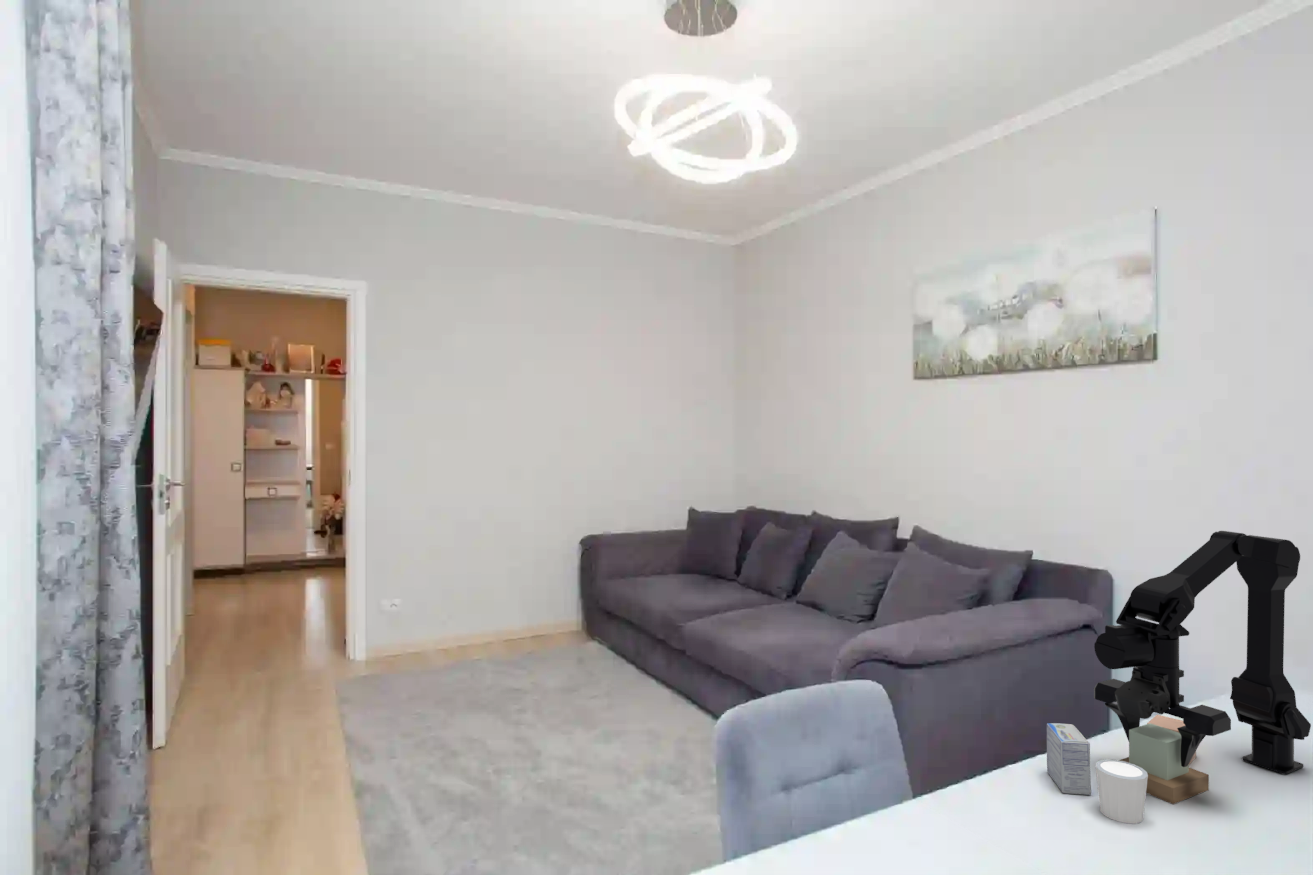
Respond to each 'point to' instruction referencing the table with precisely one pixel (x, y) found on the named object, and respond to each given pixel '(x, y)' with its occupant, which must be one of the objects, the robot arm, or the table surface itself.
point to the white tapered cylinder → (1121, 790)
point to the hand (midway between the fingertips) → (1158, 756)
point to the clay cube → (1169, 725)
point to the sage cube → (1156, 751)
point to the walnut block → (1177, 785)
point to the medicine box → (1068, 759)
